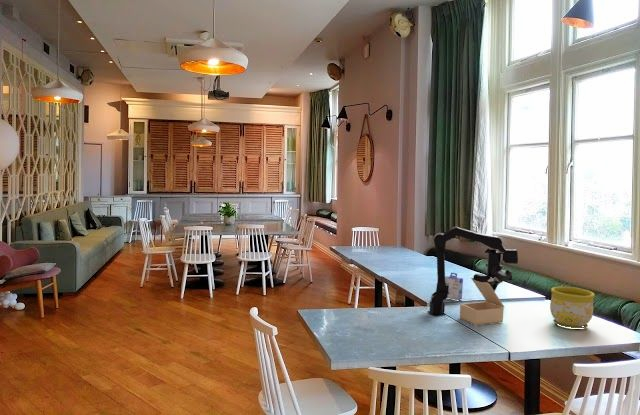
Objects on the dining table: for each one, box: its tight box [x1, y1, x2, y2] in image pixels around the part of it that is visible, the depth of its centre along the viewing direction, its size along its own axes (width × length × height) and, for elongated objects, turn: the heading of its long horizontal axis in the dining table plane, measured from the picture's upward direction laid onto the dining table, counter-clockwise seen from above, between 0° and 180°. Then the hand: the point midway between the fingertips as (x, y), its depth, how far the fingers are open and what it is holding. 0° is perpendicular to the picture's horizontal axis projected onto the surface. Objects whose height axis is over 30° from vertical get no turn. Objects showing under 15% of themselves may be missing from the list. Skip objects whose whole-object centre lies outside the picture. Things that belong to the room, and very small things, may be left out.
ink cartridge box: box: [445, 272, 464, 300], centre depth 270 cm, size 10×6×14 cm, turn 53°
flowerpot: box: [549, 286, 596, 329], centre depth 229 cm, size 18×18×16 cm
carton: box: [459, 300, 505, 326], centre depth 234 cm, size 16×12×7 cm
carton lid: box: [471, 277, 505, 308], centre depth 235 cm, size 16×12×1 cm
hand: (491, 294), depth 236 cm, fingers closed
